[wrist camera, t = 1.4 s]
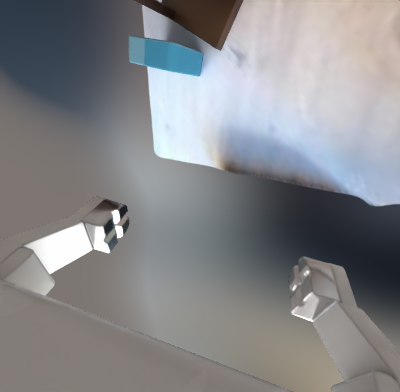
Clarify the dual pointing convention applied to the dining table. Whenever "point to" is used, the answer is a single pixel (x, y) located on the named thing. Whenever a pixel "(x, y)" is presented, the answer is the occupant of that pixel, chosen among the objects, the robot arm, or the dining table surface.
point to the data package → (164, 55)
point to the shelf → (200, 16)
